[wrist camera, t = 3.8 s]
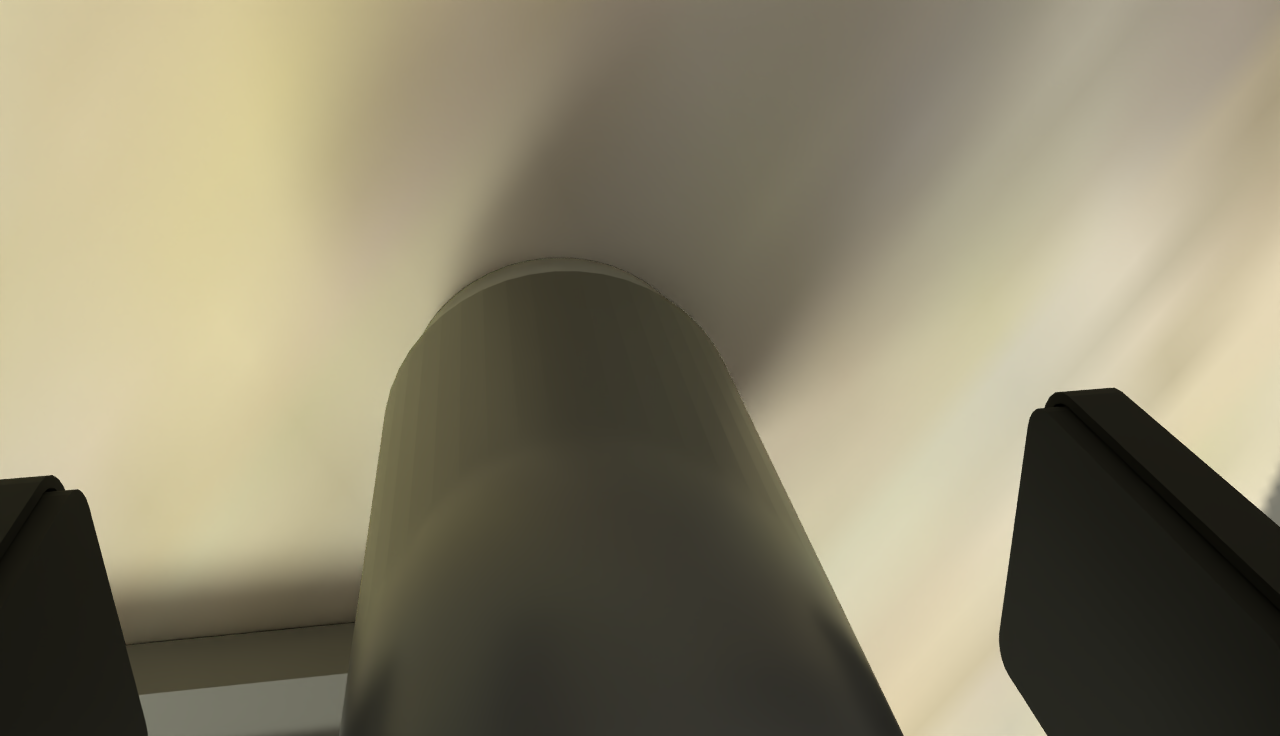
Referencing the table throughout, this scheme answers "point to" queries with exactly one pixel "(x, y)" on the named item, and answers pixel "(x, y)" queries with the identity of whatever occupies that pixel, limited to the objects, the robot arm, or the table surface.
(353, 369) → the table surface
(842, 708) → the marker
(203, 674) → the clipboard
